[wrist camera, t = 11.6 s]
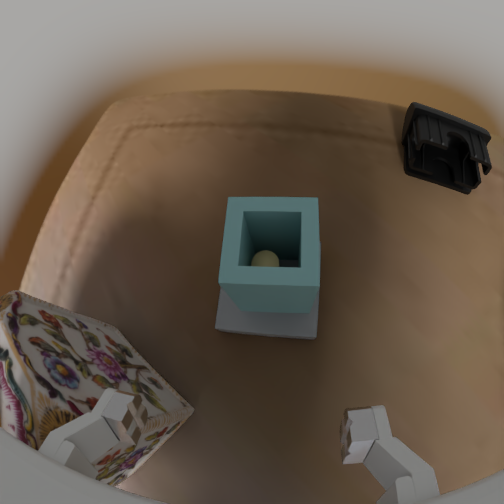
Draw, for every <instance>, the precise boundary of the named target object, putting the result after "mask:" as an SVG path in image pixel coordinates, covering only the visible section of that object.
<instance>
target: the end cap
mask: <svg viewBox="0 0 504 504" xmlns="http://www.w3.org/2000/svg"><path fill="white" fill-rule="evenodd" d="M490 139H491V136H490V134H489V132H488V131H487V130H485V129H484V128H482V127H479V126H477V125H475V124H473V123H470V122H468V121H466V120H463V119H461V118H458V117H456V116H453V115H450V114H448V113H445V112H443V111H440V110H437V109H434V108H431V107H428V106H425V105H422V104H419V103H416V102H413V103H411V104H410V106H409V108H408V110H407V113H406V116H405V120H404V126H403V132H402V145H404V171H405V173H406V174H407V175H409V176H412V177H416V178H419V179H422V180H425V181H429V182H432V183H435V184H438V185H441V186H444V187H447V188H450V189H453V190H456V191H458V192H461V193H464V194H469V193H470V192H471V189H475V188H477V187H478V185H479V184H480V183H481V178H480V172H479V167H478V163H481V164H482V168H483V173H484V175H487V174H488V173H489V172H490V170H491V168H492V166H491V162H490V158H489V154H488V150H487V144H488V143H489V141H490Z"/></svg>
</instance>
